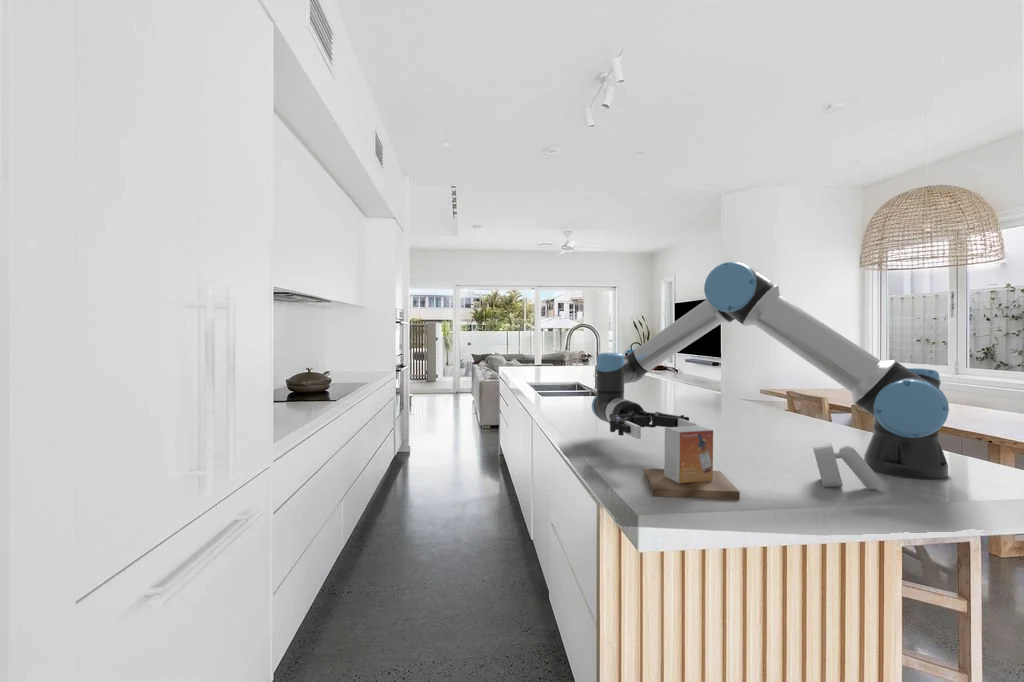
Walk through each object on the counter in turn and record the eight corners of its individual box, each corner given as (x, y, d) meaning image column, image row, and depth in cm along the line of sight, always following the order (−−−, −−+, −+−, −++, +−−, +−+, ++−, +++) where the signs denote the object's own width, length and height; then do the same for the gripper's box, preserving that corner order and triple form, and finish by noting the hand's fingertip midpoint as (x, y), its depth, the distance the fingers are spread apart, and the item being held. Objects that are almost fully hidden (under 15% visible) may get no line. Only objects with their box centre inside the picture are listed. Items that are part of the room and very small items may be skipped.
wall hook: (887, 493, 98) (873, 442, 99) (826, 498, 103) (813, 449, 104) (880, 482, 105) (867, 434, 106) (823, 487, 110) (811, 441, 111)
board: (719, 477, 111) (719, 470, 111) (739, 499, 97) (739, 491, 97) (644, 475, 113) (644, 468, 113) (653, 496, 99) (653, 488, 99)
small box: (678, 484, 101) (679, 432, 101) (663, 476, 107) (663, 426, 107) (713, 481, 103) (714, 429, 103) (697, 473, 109) (697, 424, 109)
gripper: (668, 426, 137) (717, 444, 116) (580, 431, 131) (614, 451, 110) (668, 398, 136) (717, 411, 116) (580, 402, 131) (614, 416, 110)
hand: (667, 431), depth 113 cm, fingers open, 13 cm apart
